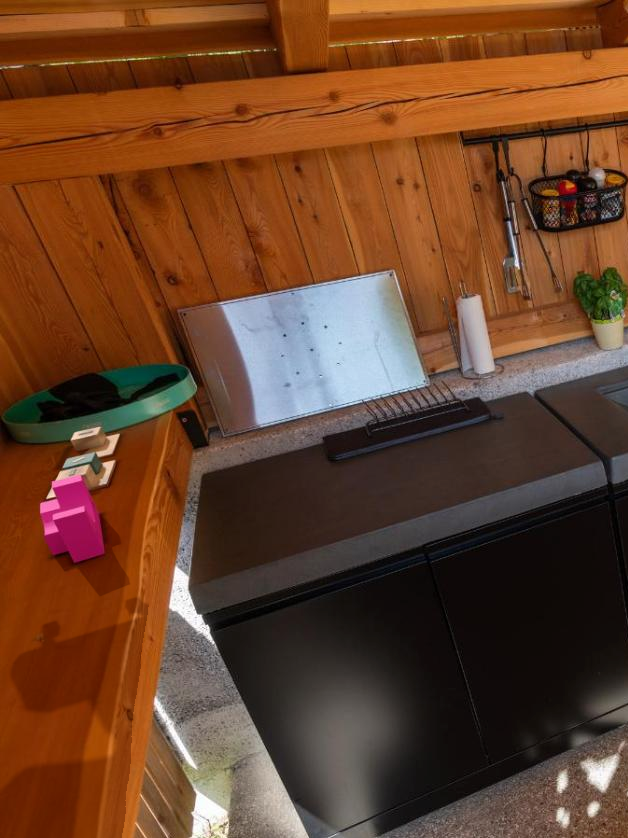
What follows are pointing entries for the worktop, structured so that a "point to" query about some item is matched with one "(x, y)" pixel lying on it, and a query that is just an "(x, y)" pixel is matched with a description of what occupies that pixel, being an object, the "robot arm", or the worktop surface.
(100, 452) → the beige flat stepped block
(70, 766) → the worktop surface
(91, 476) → the beige base plate
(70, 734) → the worktop surface
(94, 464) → the teal slotted box
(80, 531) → the toy block
